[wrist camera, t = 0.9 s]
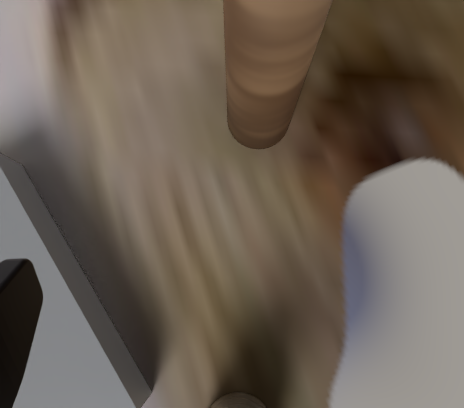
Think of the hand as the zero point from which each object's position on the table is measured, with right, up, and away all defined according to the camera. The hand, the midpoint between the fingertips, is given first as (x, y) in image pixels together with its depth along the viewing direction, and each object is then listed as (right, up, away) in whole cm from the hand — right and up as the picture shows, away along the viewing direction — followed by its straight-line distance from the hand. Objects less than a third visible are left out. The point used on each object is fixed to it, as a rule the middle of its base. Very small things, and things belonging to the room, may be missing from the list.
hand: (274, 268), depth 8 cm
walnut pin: (+1, +6, +14) cm, 15 cm away
